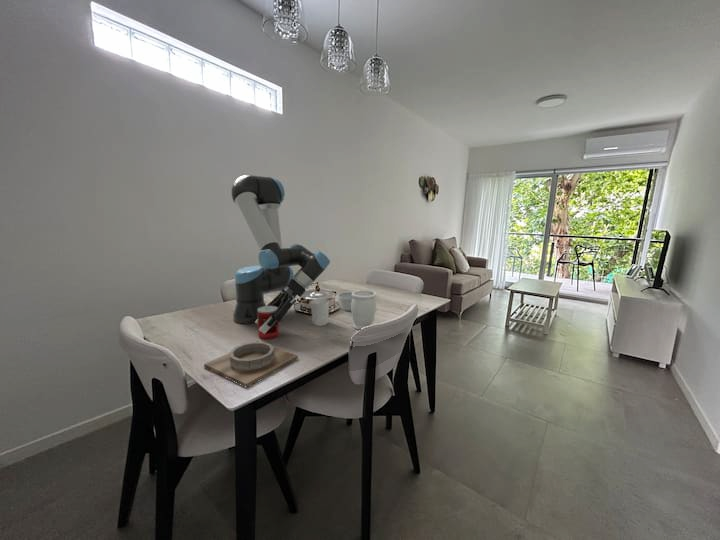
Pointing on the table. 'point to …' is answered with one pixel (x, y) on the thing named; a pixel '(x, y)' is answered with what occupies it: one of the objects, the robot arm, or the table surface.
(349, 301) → the ramekin
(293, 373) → the table surface
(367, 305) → the jar
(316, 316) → the white cup
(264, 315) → the canned food
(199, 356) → the table surface
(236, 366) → the cup holder
